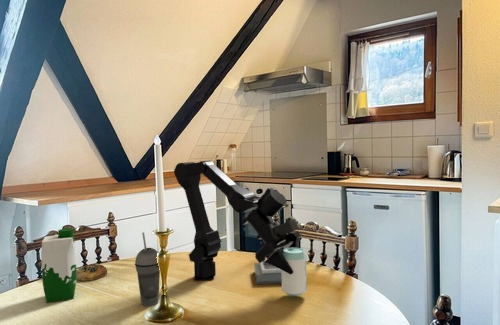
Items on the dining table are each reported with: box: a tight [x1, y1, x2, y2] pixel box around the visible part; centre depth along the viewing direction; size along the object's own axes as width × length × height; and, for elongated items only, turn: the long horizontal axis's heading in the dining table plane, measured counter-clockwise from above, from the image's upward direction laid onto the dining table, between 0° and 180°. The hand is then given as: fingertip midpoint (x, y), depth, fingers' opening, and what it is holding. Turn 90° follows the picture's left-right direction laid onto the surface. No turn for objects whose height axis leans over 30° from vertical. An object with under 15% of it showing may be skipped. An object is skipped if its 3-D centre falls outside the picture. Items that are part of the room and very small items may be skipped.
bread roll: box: [76, 263, 108, 282], centre depth 128 cm, size 11×11×5 cm
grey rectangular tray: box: [253, 259, 282, 285], centre depth 122 cm, size 14×12×4 cm
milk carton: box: [40, 227, 78, 304], centre depth 110 cm, size 9×9×20 cm
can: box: [281, 247, 308, 297], centre depth 105 cm, size 7×7×12 cm
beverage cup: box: [134, 232, 161, 307], centre depth 104 cm, size 7×7×20 cm
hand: (298, 269), depth 104 cm, fingers closed on can, 7 cm apart
